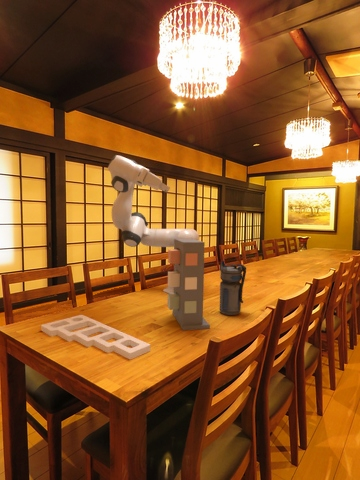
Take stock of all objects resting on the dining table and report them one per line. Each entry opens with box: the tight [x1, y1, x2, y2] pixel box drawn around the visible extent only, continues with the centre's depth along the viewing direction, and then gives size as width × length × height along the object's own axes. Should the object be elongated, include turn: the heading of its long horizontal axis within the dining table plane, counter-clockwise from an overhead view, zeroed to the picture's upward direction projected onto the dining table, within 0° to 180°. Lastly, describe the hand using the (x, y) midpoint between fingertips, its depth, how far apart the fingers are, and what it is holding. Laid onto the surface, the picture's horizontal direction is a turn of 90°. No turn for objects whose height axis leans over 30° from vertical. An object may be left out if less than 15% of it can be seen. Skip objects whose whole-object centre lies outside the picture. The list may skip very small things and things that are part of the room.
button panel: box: [171, 239, 211, 331], centre depth 132 cm, size 12×22×36 cm, turn 13°
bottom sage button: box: [167, 293, 179, 311], centre depth 131 cm, size 6×6×6 cm
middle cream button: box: [167, 271, 180, 287], centre depth 130 cm, size 6×6×6 cm
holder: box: [40, 314, 151, 360], centre depth 111 cm, size 45×18×3 cm, turn 49°
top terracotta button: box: [167, 248, 180, 265], centre depth 129 cm, size 6×6×6 cm
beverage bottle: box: [219, 260, 247, 316], centre depth 143 cm, size 10×13×25 cm
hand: (168, 190), depth 141 cm, fingers open, 8 cm apart
